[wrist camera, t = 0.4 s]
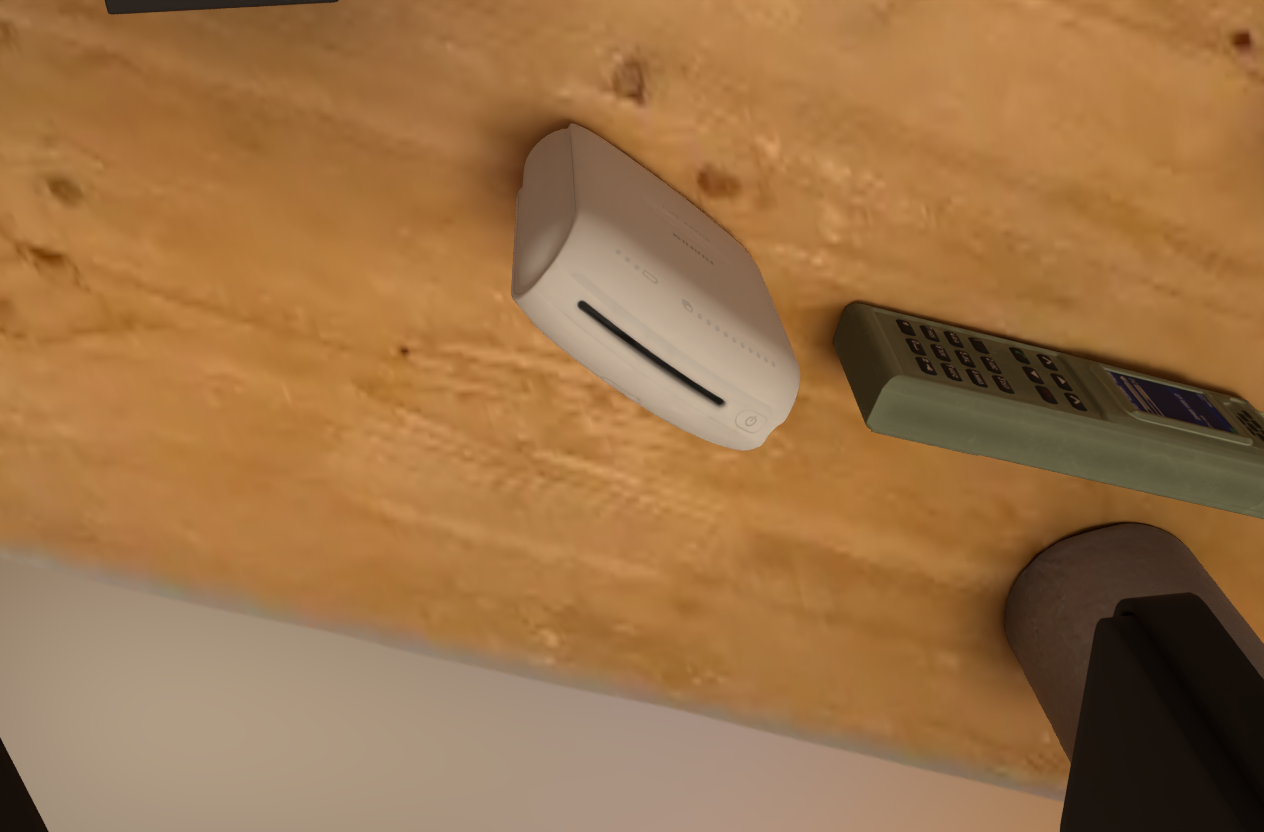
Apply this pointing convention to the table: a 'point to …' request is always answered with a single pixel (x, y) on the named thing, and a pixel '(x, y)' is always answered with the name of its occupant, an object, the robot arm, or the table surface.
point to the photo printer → (649, 292)
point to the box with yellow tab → (193, 4)
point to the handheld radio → (1051, 410)
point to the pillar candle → (1100, 608)
